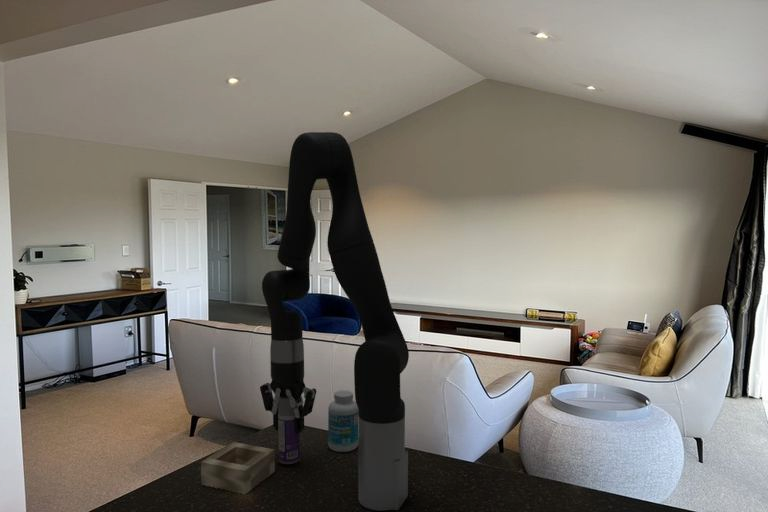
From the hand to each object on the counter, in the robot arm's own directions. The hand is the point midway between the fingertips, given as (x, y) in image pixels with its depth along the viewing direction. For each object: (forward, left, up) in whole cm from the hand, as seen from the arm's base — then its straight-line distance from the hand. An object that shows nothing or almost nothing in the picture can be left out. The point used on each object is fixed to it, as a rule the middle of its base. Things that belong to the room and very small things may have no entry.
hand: (288, 430), depth 125 cm
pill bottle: (-8, -13, -8) cm, 17 cm away
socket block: (+6, +10, -8) cm, 14 cm away
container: (0, 0, -7) cm, 7 cm away
